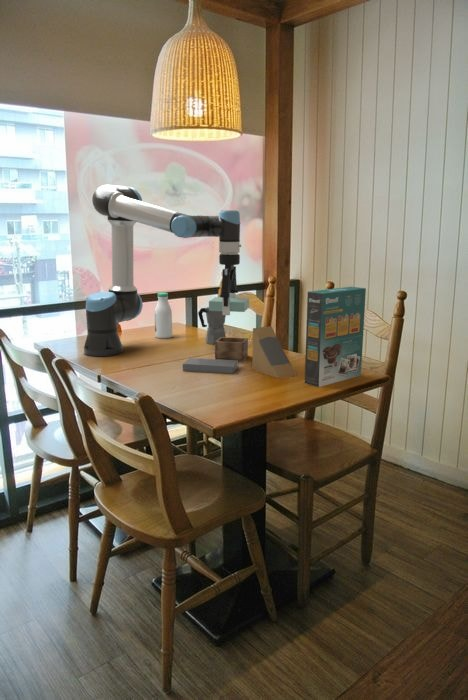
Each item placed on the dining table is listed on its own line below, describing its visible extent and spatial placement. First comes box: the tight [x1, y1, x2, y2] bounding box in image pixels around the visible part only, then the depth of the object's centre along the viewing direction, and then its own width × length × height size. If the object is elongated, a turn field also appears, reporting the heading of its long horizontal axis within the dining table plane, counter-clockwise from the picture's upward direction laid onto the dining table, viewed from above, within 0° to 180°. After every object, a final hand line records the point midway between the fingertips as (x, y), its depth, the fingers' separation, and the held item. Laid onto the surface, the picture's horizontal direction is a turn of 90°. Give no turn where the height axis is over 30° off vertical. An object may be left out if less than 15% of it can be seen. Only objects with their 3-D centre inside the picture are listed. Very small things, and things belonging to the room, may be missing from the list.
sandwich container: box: [252, 326, 297, 379], centre depth 196 cm, size 9×15×15 cm, turn 34°
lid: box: [208, 296, 250, 313], centre depth 211 cm, size 13×11×4 cm
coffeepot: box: [197, 306, 227, 346], centre depth 242 cm, size 15×9×18 cm, turn 126°
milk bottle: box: [154, 292, 173, 339], centre depth 253 cm, size 8×8×20 cm
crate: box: [214, 336, 249, 362], centre depth 217 cm, size 11×9×7 cm
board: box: [182, 357, 239, 375], centre depth 201 cm, size 18×9×2 cm, turn 79°
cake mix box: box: [304, 286, 367, 388], centre depth 185 cm, size 22×6×30 cm, turn 130°
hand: (229, 312), depth 212 cm, fingers closed on lid, 11 cm apart
